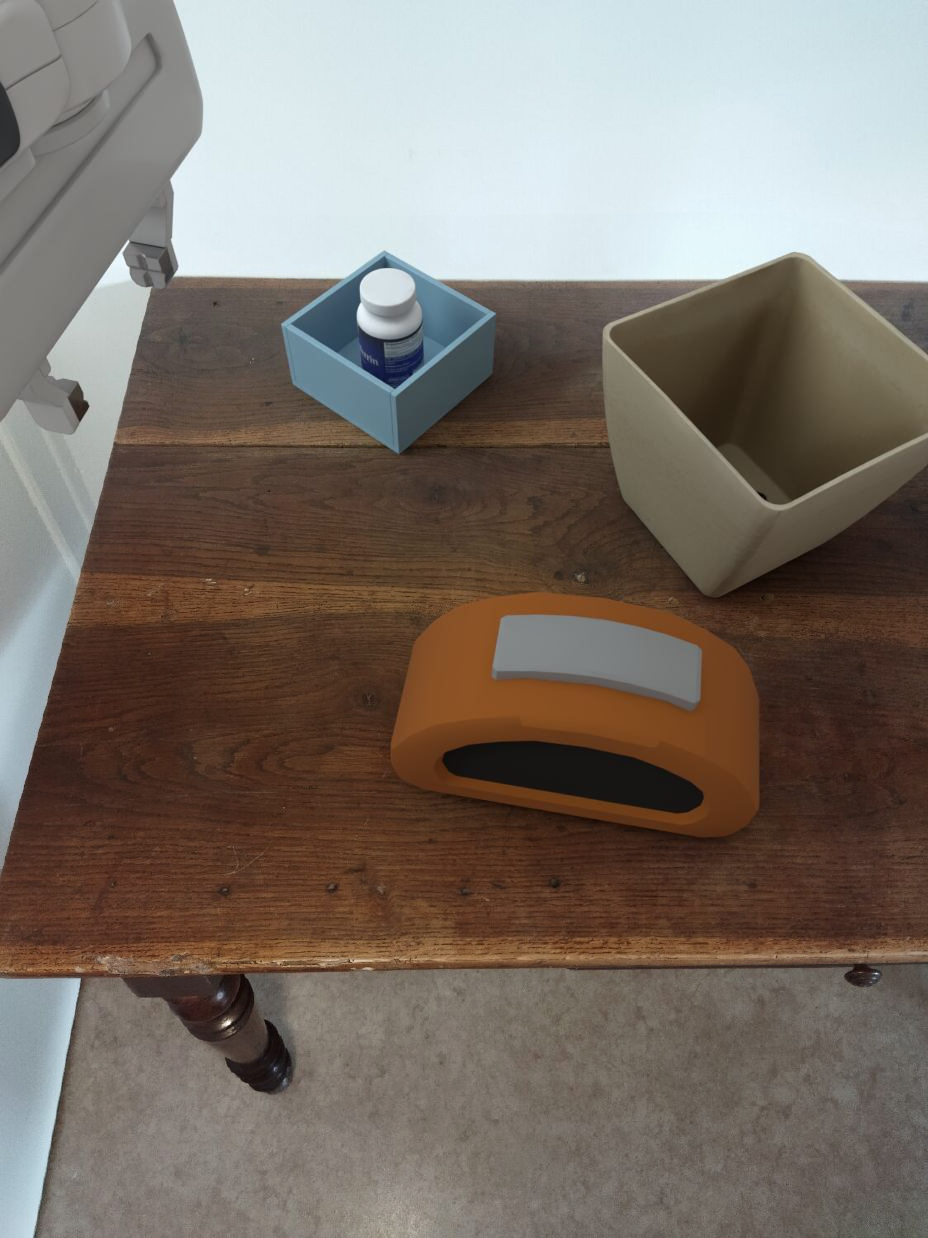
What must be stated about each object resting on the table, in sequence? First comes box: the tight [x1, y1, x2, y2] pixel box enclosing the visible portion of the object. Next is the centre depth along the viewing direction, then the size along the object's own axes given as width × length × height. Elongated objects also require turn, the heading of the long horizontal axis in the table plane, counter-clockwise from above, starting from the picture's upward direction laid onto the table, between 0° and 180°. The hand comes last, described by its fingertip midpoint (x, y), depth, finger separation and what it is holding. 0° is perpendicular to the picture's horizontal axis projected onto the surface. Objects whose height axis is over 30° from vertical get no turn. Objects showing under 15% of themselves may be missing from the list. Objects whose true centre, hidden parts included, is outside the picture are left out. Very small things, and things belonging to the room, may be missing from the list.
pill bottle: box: [357, 268, 424, 389], centre depth 78 cm, size 6×6×10 cm
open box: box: [280, 250, 497, 455], centre depth 79 cm, size 13×13×7 cm
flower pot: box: [601, 251, 928, 599], centre depth 68 cm, size 19×19×17 cm
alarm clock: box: [390, 591, 760, 838], centre depth 56 cm, size 23×9×17 cm, turn 80°
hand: (114, 345), depth 40 cm, fingers open, 8 cm apart
